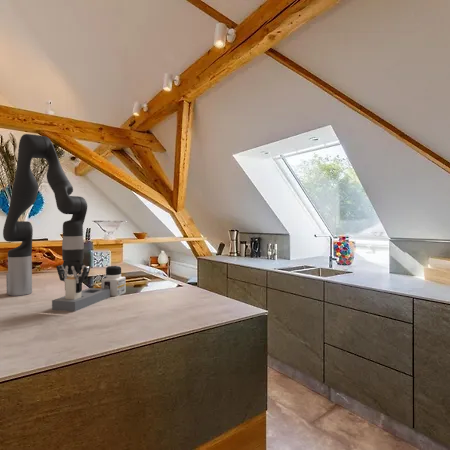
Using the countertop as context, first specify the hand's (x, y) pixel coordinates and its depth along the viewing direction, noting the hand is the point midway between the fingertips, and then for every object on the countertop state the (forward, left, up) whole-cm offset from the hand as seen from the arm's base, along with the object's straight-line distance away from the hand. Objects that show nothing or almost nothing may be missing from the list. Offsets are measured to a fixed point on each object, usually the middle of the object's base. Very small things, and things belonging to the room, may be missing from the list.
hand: (73, 291), depth 124 cm
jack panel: (0, +5, -6) cm, 8 cm away
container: (+3, +22, -6) cm, 24 cm away
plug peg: (0, 0, -5) cm, 5 cm away
